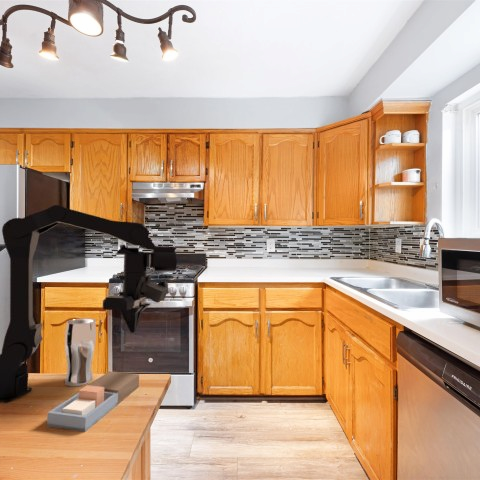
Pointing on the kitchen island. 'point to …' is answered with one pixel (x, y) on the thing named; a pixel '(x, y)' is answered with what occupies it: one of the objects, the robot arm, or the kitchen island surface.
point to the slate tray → (80, 421)
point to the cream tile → (80, 407)
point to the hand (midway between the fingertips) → (133, 332)
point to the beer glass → (79, 350)
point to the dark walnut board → (118, 383)
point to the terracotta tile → (92, 394)
